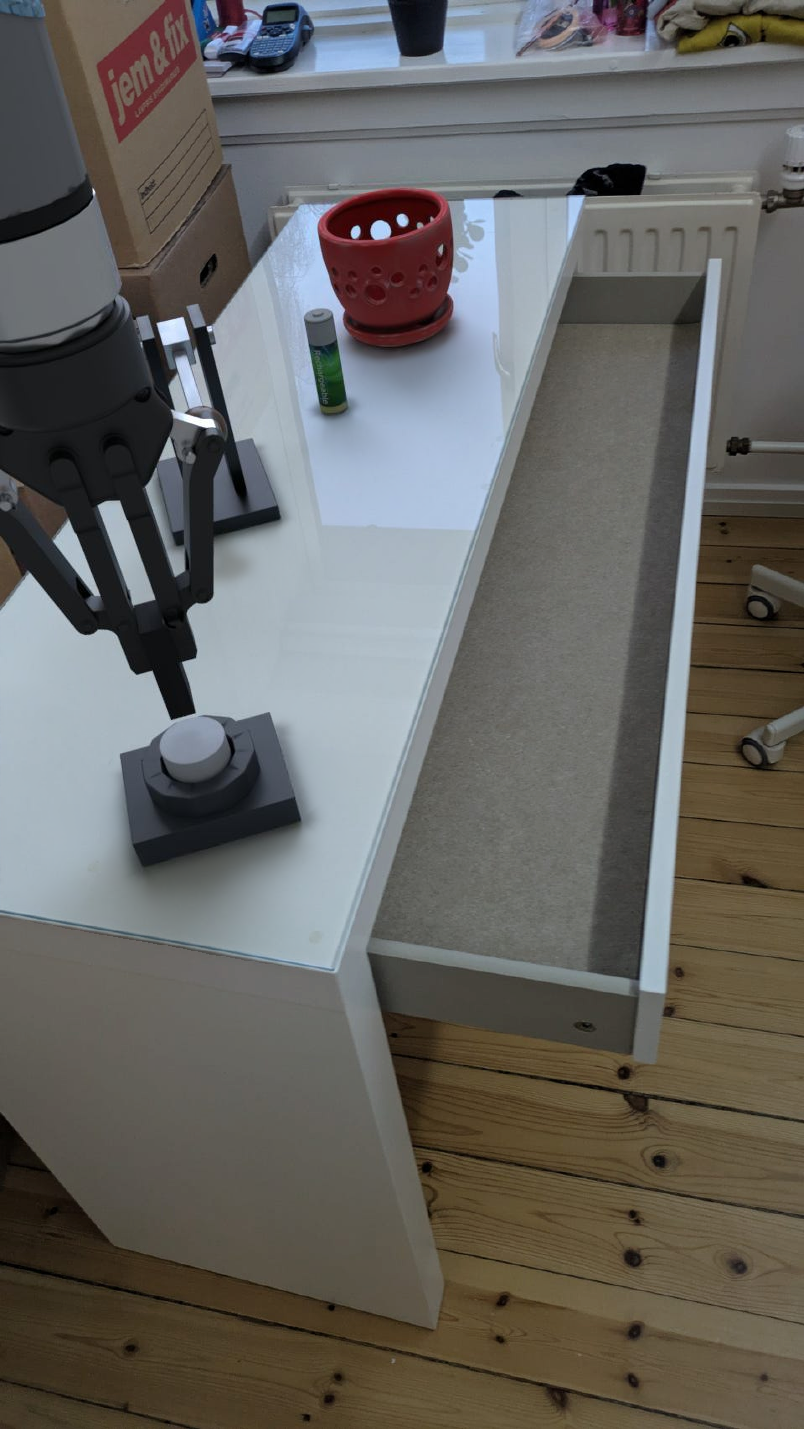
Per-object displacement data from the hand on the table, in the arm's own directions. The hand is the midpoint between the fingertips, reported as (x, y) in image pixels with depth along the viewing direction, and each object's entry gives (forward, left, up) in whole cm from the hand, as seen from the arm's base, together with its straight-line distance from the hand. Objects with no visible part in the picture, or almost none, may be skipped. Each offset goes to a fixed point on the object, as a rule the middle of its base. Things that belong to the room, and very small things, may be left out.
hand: (180, 701), depth 64 cm
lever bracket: (+6, +35, -9) cm, 37 cm away
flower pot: (+29, +58, -9) cm, 65 cm away
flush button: (0, 0, -5) cm, 5 cm away
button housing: (0, 0, -9) cm, 9 cm away
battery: (+19, +45, -9) cm, 50 cm away
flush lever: (+6, +30, +2) cm, 31 cm away
